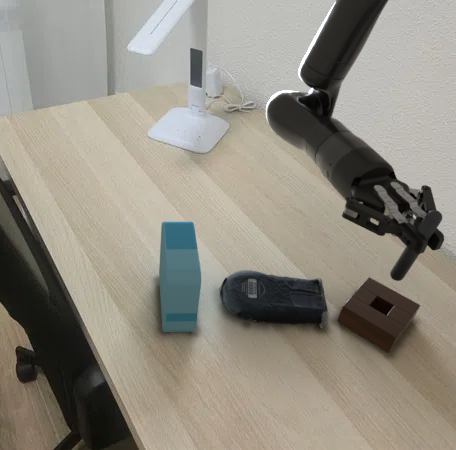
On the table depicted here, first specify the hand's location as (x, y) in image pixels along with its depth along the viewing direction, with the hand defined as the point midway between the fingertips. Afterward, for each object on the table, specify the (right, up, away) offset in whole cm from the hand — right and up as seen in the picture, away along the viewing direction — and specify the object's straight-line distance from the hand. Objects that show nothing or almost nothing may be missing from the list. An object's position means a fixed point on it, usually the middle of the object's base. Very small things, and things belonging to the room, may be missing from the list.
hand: (431, 246), depth 67 cm
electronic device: (-16, -9, +16) cm, 25 cm away
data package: (-31, -9, +15) cm, 35 cm away
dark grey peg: (-1, -5, +8) cm, 9 cm away
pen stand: (-1, -11, +14) cm, 18 cm away
